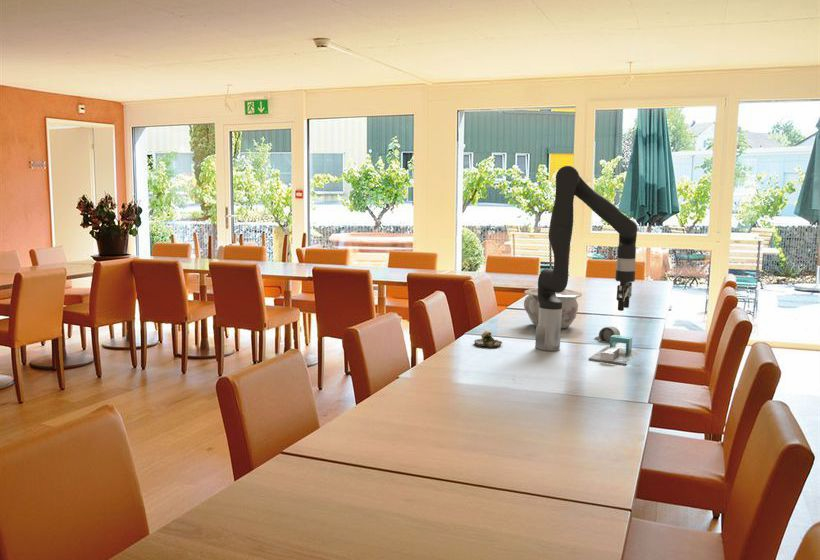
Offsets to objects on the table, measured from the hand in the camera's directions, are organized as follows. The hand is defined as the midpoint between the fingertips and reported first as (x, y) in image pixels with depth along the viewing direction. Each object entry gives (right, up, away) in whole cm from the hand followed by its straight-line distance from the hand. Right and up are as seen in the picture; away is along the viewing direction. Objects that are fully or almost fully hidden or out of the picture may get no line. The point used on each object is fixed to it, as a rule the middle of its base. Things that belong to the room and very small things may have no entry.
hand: (623, 309), depth 282 cm
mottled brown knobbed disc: (-54, -16, +11) cm, 57 cm away
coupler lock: (-1, -17, +2) cm, 17 cm away
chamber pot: (-18, -11, +56) cm, 60 cm away
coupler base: (-4, -19, -4) cm, 20 cm away
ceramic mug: (0, -16, +23) cm, 28 cm away
